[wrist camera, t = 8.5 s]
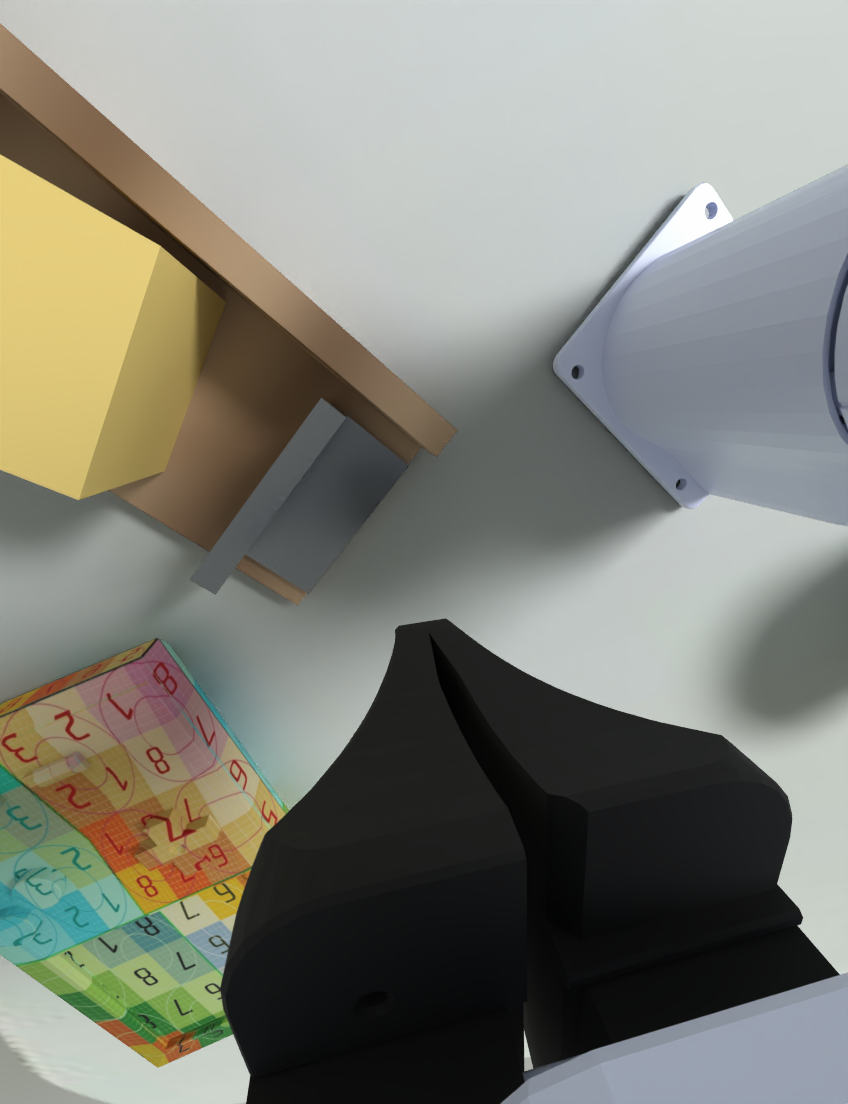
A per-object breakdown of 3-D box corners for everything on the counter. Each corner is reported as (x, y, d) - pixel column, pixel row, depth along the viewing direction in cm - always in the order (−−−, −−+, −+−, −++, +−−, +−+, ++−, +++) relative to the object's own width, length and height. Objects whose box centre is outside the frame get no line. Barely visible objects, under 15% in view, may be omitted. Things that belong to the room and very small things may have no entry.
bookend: (407, 464, 16) (424, 481, 12) (308, 590, 17) (297, 641, 13) (328, 400, 15) (321, 397, 11) (227, 539, 16) (189, 579, 12)
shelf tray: (433, 425, 17) (471, 433, 11) (299, 597, 18) (278, 674, 13) (-248, -169, 10) (-927, -825, 5) (-380, 177, 11) (-1020, -25, 6)
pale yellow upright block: (226, 302, 14) (160, 246, 9) (163, 473, 15) (77, 503, 10) (88, 225, 12) (-69, 115, 8) (34, 418, 14) (-129, 423, 9)
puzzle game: (127, 672, 13) (378, 992, 20) (183, 607, 18) (373, 888, 25) (-233, 825, 13) (149, 1095, 20) (-85, 719, 17) (185, 971, 24)
